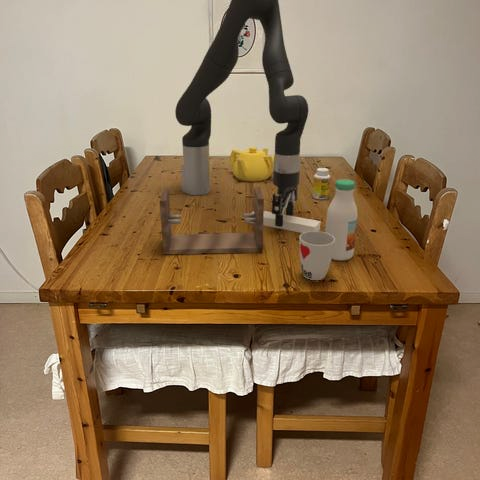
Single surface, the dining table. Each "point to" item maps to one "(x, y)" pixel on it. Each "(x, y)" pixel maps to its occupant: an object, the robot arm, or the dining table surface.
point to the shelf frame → (214, 240)
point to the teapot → (252, 164)
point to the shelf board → (291, 223)
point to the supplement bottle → (321, 184)
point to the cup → (315, 253)
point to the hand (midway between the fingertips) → (284, 221)
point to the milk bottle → (342, 220)
